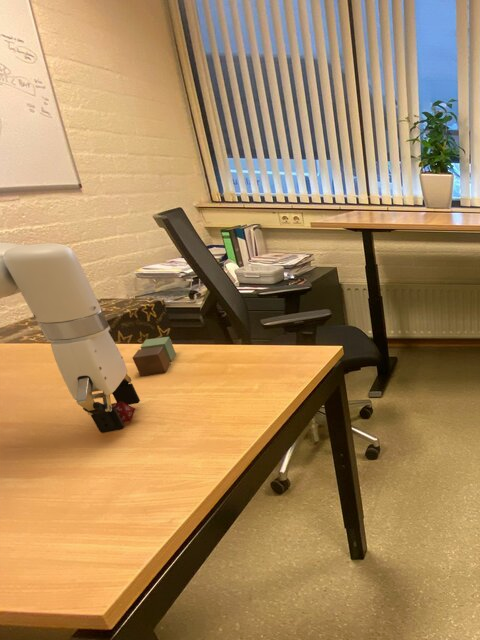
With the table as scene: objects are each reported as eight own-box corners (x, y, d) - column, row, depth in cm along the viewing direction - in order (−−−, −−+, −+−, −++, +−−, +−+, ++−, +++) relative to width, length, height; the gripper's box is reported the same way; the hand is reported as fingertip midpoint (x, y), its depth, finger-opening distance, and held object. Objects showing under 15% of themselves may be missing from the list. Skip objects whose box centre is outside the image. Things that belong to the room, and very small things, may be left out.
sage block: (148, 364, 95) (140, 346, 92) (153, 357, 98) (145, 339, 96) (171, 361, 96) (164, 343, 94) (176, 353, 100) (169, 336, 98)
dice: (108, 422, 75) (98, 403, 73) (139, 413, 77) (130, 394, 75) (108, 431, 72) (97, 412, 70) (140, 422, 75) (131, 403, 73)
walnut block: (140, 376, 90) (132, 357, 88) (146, 367, 93) (138, 349, 91) (165, 372, 91) (157, 354, 89) (170, 364, 95) (163, 346, 93)
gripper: (68, 311, 72) (112, 397, 80) (15, 350, 58) (74, 450, 66) (122, 306, 74) (159, 389, 83) (84, 342, 60) (133, 438, 69)
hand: (121, 416), depth 74 cm, fingers open, 8 cm apart
